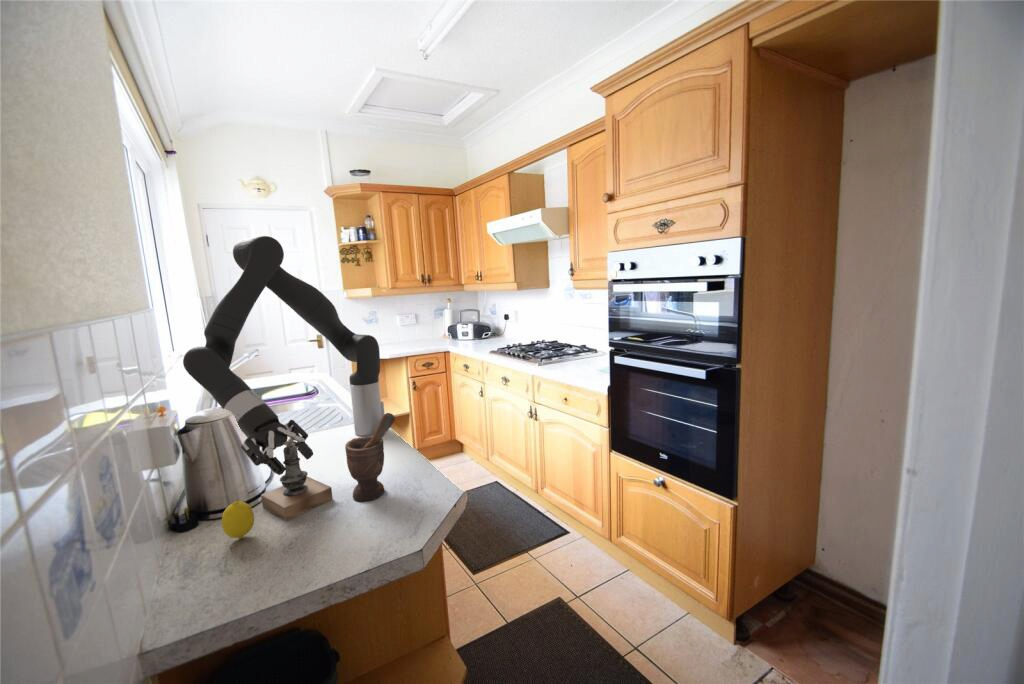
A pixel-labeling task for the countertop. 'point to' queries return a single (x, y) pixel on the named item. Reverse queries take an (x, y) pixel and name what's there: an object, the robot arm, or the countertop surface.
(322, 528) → the countertop surface
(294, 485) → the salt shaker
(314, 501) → the walnut plinth
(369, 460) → the mortar and pestle
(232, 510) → the lemon
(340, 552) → the countertop surface
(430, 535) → the countertop surface
